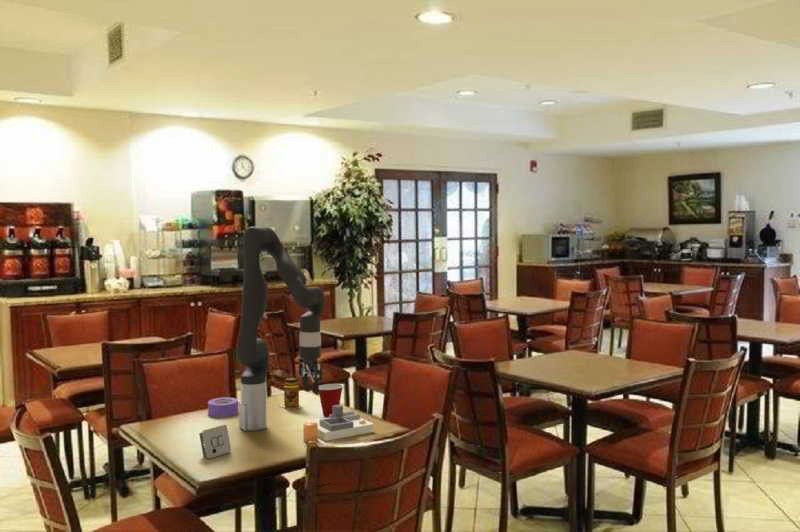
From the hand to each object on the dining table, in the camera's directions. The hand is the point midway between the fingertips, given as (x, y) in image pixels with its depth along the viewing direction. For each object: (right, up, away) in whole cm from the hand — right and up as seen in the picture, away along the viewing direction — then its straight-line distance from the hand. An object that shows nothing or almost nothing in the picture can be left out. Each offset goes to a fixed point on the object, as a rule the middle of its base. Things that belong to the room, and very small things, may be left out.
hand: (310, 390), depth 239 cm
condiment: (-14, -16, +47) cm, 51 cm away
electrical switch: (-30, -19, -14) cm, 38 cm away
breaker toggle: (+8, -14, +17) cm, 23 cm away
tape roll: (-40, -16, +37) cm, 57 cm away
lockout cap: (0, -18, +1) cm, 18 cm away
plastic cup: (+3, -16, +34) cm, 38 cm away
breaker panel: (+9, -17, +13) cm, 23 cm away
